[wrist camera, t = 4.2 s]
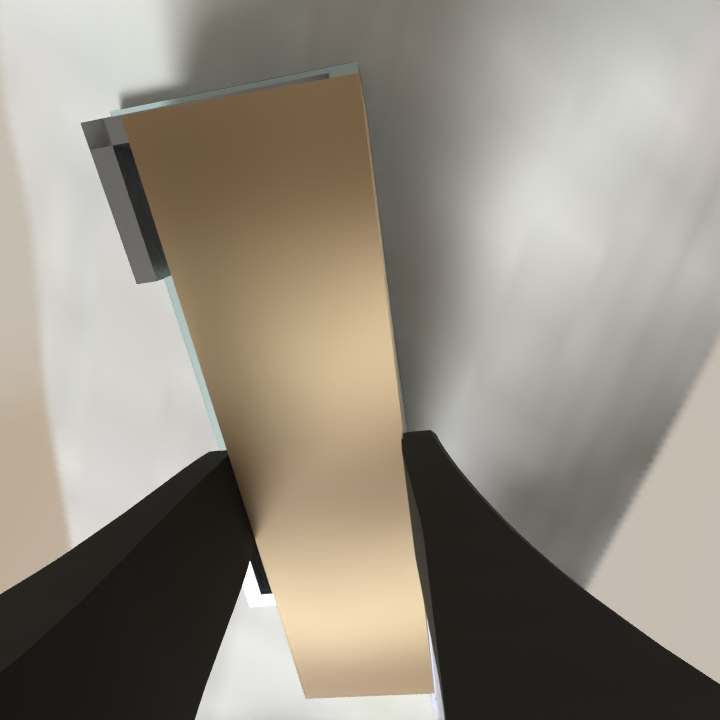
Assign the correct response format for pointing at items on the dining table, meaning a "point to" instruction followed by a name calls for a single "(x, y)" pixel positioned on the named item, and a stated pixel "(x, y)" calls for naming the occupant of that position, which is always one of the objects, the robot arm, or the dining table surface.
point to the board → (333, 72)
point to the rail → (299, 362)
